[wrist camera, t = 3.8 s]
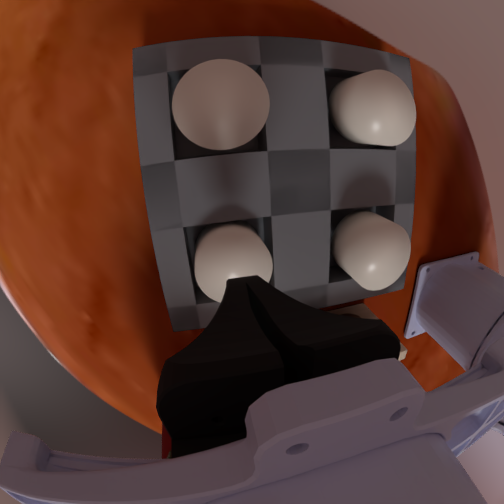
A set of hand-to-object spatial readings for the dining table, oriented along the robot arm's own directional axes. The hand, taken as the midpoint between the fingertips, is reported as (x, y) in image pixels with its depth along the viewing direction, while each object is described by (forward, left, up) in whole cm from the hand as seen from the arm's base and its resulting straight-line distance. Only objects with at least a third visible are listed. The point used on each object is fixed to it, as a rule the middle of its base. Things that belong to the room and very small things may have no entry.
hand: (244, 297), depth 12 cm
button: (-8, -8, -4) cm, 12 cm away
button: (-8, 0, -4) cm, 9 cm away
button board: (-4, -4, -7) cm, 9 cm away
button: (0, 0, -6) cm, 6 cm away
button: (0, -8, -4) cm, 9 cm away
